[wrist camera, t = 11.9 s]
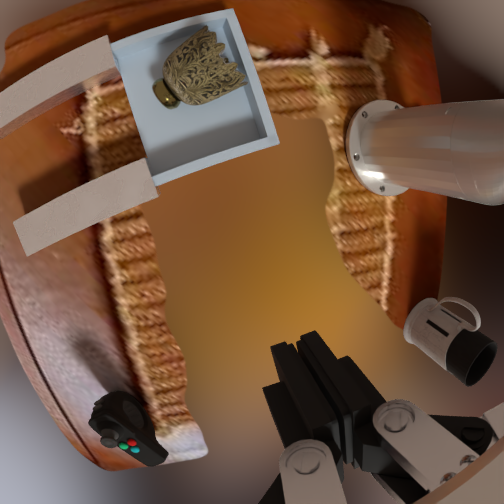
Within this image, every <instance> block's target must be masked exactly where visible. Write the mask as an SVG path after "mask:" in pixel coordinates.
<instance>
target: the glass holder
mask: <svg viewBox="0 0 504 504" xmlns="http://www.w3.org/2000/svg"><path fill="white" fill-rule="evenodd" d="M445 301H453V302H456V303H459V304H461V305H463V306H465V307H467V308H468V309H469V310H470V311H471V312H472V313H473V314H474V316H475V318H476V323H477V326H476V327H474V326H472V325H471V324H469V323H467V322H466V321H464V320H463V319H461V318H460V317H458V316H456V315H455V314H453V313H452V312H450V311H449V310H447V309H445V308H444V307H442V306H441V305H440V303H442V302H445ZM480 322H481V320H480V316H479V314H478V312H477V310H476V309H475V308H474V307H473V306H472V305H471V304H469V303H468V302H466V301H464V300H462V299H459V298H456V297H445V298H443V299H442V300H441V301H439V302H438V301H437V300H436V299H434V298H426V299H424V300H422V301H421V302H419V303H418V304H417V305H416V306H415V307H414V308H413V309H412V311H411V312H410V314H409V315H408V317H407V319H406V322H405V325H404V337H405V340H406V341H407V342H409V343H413V344H415V345H416V346H418V347H419V348H420V349H421V350H422V351H424V352H425V353H426V354H427V355H428V356H430V357H431V358H432V359H433V360H434V361H436V362H437V363H438V364H439V365H440V366H442V367H443V368H444V369H445V370H446V371H448V372H450V373H451V374H452V375H454V376H455V377H456V378H458V379H459V380H460V381H461V382H462V383H464V384H465V385H466V386H472V385H474V384H475V383H477V382H478V381H479V380H480V379H481V378H482V377H483V376H484V375H485V373H486V372H487V371H488V369H489V368H490V366H491V364H492V362H493V360H494V358H495V355H496V352H497V343H496V342H494V341H493V340H491V339H490V338H488V337H487V336H485V335H484V334H482V333H481V332H479V331H478V330H477V329H478V328H479V327H480V324H481V323H480Z"/></svg>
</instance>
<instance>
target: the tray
mask: <svg viewBox="0 0 504 504" xmlns="http://www.w3.org/2000/svg"><path fill="white" fill-rule="evenodd" d="M205 25H207V26H208V30H210V31H213V32H216V35H217V43H220V42H221V43H224V44H225V51H224V52H223V53H222V55H221V53H220V54H219V55H220V57H222V58H228V60H229V63H230V62H232V61H233V62H235V63H237V64H238V66H237V68H236V70H238V71H240V72H241V73H243V74H244V75H246V76H245V78H244V80H243V81H242V82H244V81H247V82H248V84H247V85H244V86H242V87H240V88H238V89H236V90H234V91H231V92H229V93H227V94H225V95H223V96H221V97H219V98H217V99H215V100H213V101H210V102H208V103H205V104H202V105H195V106H194V105H188V104H185V103H183V102H182V101H181V103H180V105H179V106H178V107H177V108H175V109H172V110H169V109H167V108H165V107H164V106H163V105H162V104H161V103H160V102H159V101H158V99H157V98H156V96H155V95H154V93H153V91H152V85H153V83H154V81H155V80H157V79H159V78H164V77H163V72H162V70H163V65H164V62H165V61H166V59H167V58H168V56H169V55H170V54H171V53H172V52H173V51H174V50H175V49H176V48H177V47H179V46H180V45H181V44H182V43H183V42H185V41H186V40H187V39H188V38H190V37H191V36H192V35H193V34H195V33H196V32H197V31H199V30H200V29H201V28H202V27H204V26H205ZM110 45H111V49H112V52H113V54H114V56H115V57H116V59H117V62H118V66H119V69H120V73H121V76H122V79H123V83H124V86H125V89H126V93H127V96H128V99H129V103H130V106H131V109H132V112H133V115H134V118H135V121H136V125H137V128H138V131H139V134H140V137H141V140H142V143H143V146H144V149H145V151H146V154H147V157H148V160H149V163H150V166H151V169H152V172H153V174H154V176H153V177H152V179H153V182H154V184H155V187H156V186H158V185H160V184H163V183H166V182H168V181H171V180H173V179H176V178H179V177H181V176H184V175H187V174H189V173H192V172H195V171H198V170H201V169H203V168H206V167H209V166H212V165H215V164H218V163H221V162H224V161H226V160H229V159H232V158H235V157H239V156H242V155H245V154H248V153H251V152H254V151H257V150H260V149H264V148H267V147H270V146H274V145H277V144H280V142H279V139H278V136H277V133H276V130H275V127H274V123H273V120H272V117H271V114H270V111H269V108H268V105H267V102H266V99H265V96H264V93H263V90H262V87H261V84H260V81H259V78H258V75H257V72H256V69H255V66H254V64H253V61H252V58H251V55H250V52H249V50H248V47H247V44H246V41H245V39H244V36H243V33H242V31H241V28H240V25H239V23H238V20H237V17H236V15H235V12H234V10H233V9H227V10H222V11H217V12H212V13H208V14H203V15H199V16H195V17H191V18H187V19H183V20H179V21H176V22H172V23H169V24H165V25H162V26H159V27H156V28H152V29H149V30H146V31H143V32H141V33H138V34H135V35H132V36H129V37H127V38H124V39H121V40H119V41H116V42H114V43H111V44H110Z"/></svg>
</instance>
